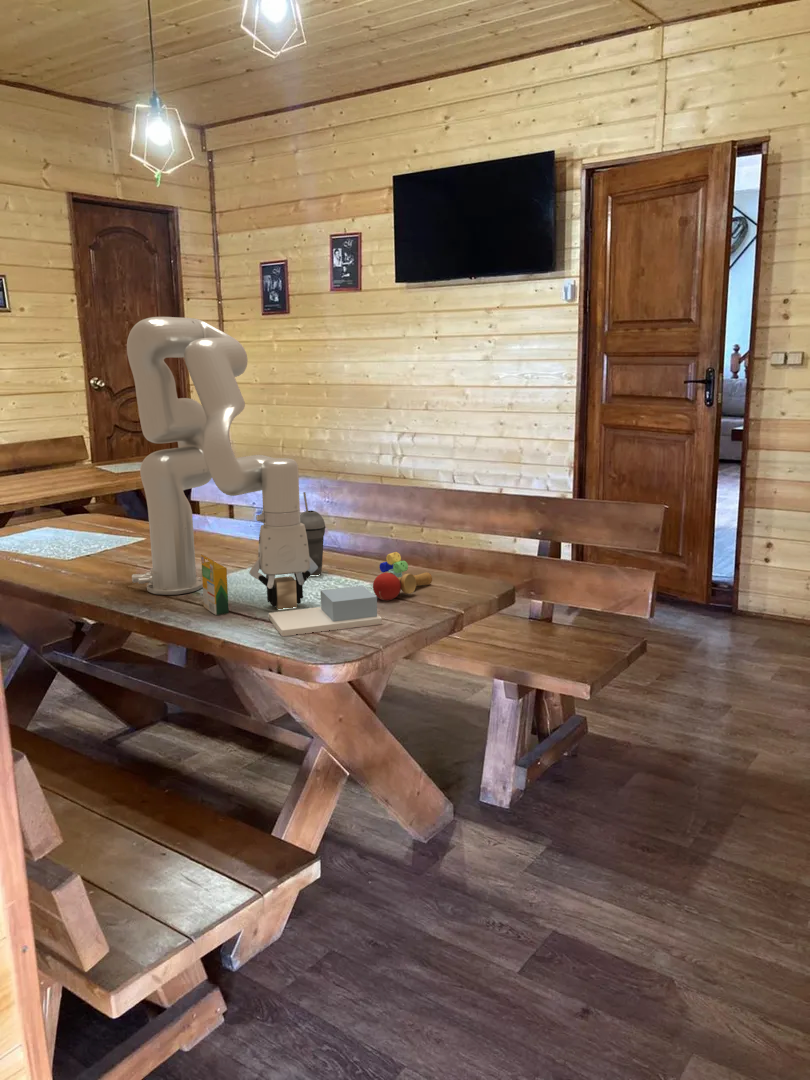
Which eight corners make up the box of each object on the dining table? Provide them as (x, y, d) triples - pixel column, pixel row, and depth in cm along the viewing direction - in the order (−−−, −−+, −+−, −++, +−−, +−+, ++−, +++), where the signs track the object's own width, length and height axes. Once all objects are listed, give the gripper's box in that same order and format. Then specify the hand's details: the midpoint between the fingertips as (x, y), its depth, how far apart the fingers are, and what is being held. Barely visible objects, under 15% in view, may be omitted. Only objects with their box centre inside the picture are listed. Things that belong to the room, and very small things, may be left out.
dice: (378, 576, 208) (378, 550, 207) (387, 574, 210) (386, 548, 208) (400, 582, 202) (400, 555, 201) (409, 580, 204) (409, 553, 203)
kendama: (409, 587, 203) (361, 594, 189) (415, 561, 202) (367, 566, 188) (436, 598, 199) (388, 606, 185) (442, 572, 198) (395, 578, 183)
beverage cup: (322, 578, 206) (319, 495, 202) (292, 577, 208) (289, 494, 203) (330, 571, 213) (328, 490, 209) (302, 570, 214) (299, 489, 210)
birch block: (278, 610, 182) (277, 582, 180) (274, 605, 185) (272, 578, 184) (297, 608, 183) (296, 580, 182) (292, 603, 187) (291, 576, 185)
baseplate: (282, 636, 165) (281, 610, 164) (269, 618, 176) (267, 593, 175) (382, 623, 172) (381, 598, 171) (363, 607, 183) (362, 583, 182)
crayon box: (229, 613, 180) (226, 558, 178) (215, 615, 178) (212, 560, 176) (216, 605, 186) (213, 552, 184) (203, 607, 184) (200, 553, 182)
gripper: (244, 525, 174) (248, 613, 178) (326, 518, 180) (328, 603, 184) (237, 518, 181) (242, 603, 185) (316, 512, 186) (319, 594, 190)
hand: (285, 602), depth 184 cm, fingers open, 4 cm apart
